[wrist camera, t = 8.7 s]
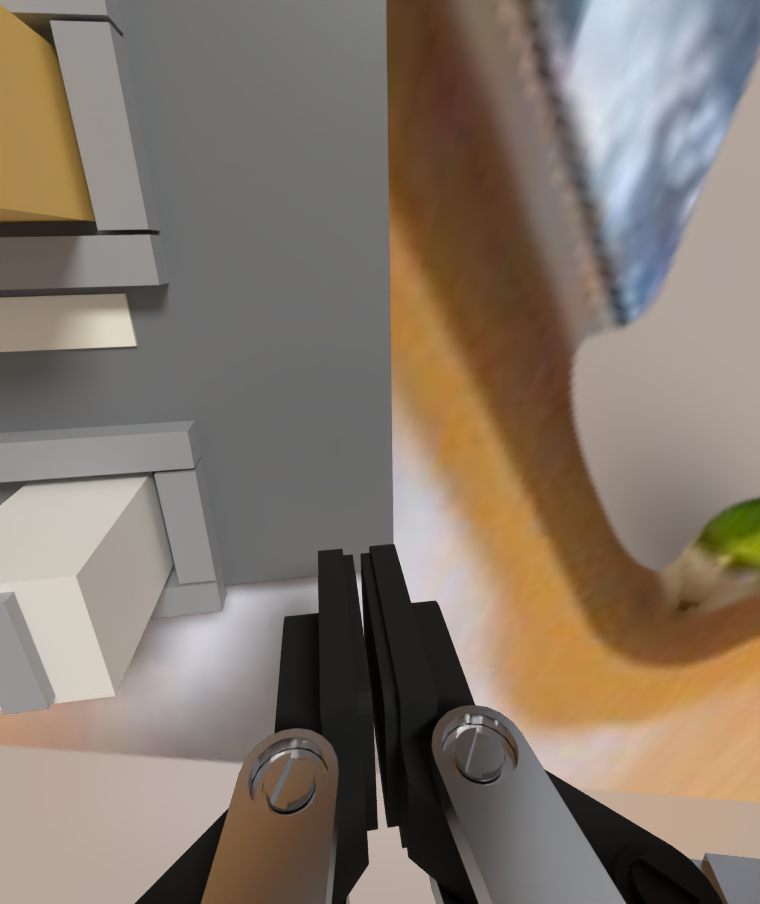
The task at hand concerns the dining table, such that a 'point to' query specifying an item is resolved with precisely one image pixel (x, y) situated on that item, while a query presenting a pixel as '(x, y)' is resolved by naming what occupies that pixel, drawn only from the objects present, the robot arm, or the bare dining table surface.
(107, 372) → the switch board
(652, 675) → the dining table surface
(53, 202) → the yellow block with tab
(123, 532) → the white tab
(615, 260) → the dining table surface
